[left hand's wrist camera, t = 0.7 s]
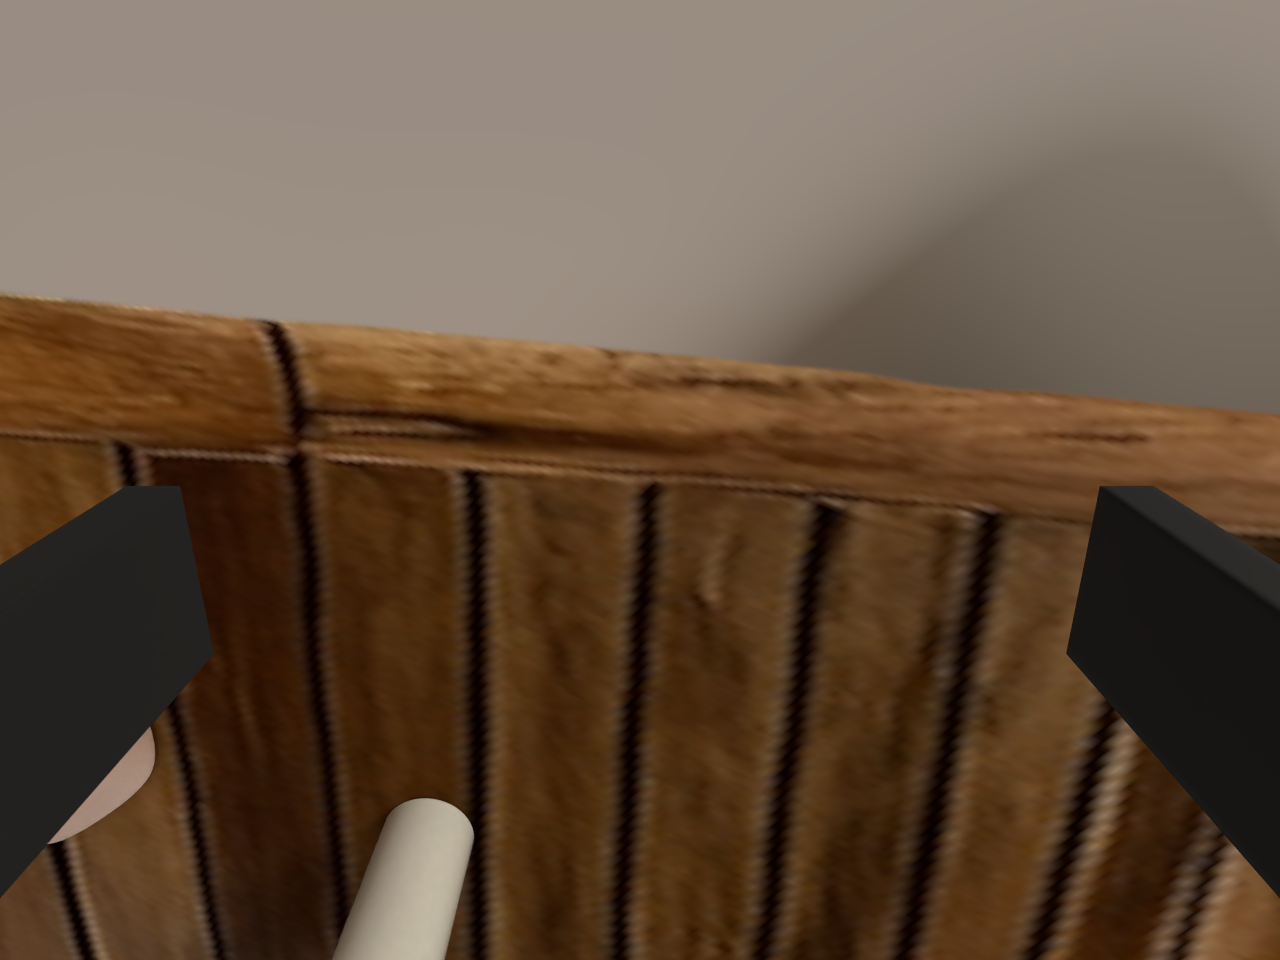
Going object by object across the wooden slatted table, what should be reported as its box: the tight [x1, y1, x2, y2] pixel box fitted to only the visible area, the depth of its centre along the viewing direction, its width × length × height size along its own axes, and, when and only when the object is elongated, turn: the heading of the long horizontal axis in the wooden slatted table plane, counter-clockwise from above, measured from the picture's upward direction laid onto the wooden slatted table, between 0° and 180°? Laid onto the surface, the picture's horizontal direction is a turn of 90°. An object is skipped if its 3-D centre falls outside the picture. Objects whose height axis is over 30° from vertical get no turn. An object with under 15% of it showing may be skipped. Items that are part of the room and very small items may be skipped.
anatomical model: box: [48, 727, 155, 844], centre depth 45 cm, size 13×4×12 cm
